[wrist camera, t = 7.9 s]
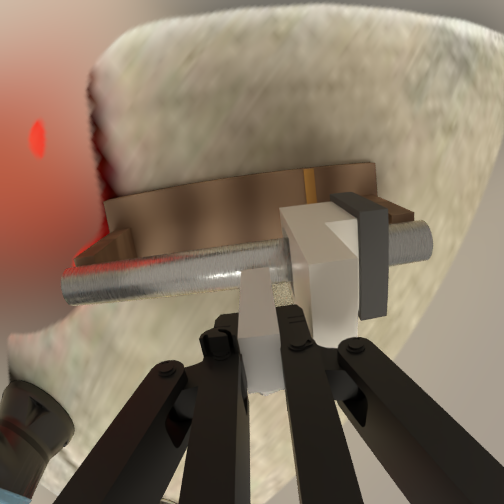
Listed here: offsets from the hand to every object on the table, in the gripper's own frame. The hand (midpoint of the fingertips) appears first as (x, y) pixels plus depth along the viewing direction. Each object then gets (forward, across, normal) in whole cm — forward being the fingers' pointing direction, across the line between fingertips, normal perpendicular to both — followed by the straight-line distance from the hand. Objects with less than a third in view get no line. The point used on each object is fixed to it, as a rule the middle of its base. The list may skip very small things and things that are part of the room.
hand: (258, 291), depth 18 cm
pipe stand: (+17, -1, 0) cm, 17 cm away
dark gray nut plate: (+8, +7, 0) cm, 11 cm away
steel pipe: (+6, -1, 0) cm, 6 cm away
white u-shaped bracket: (+8, +4, 0) cm, 9 cm away
